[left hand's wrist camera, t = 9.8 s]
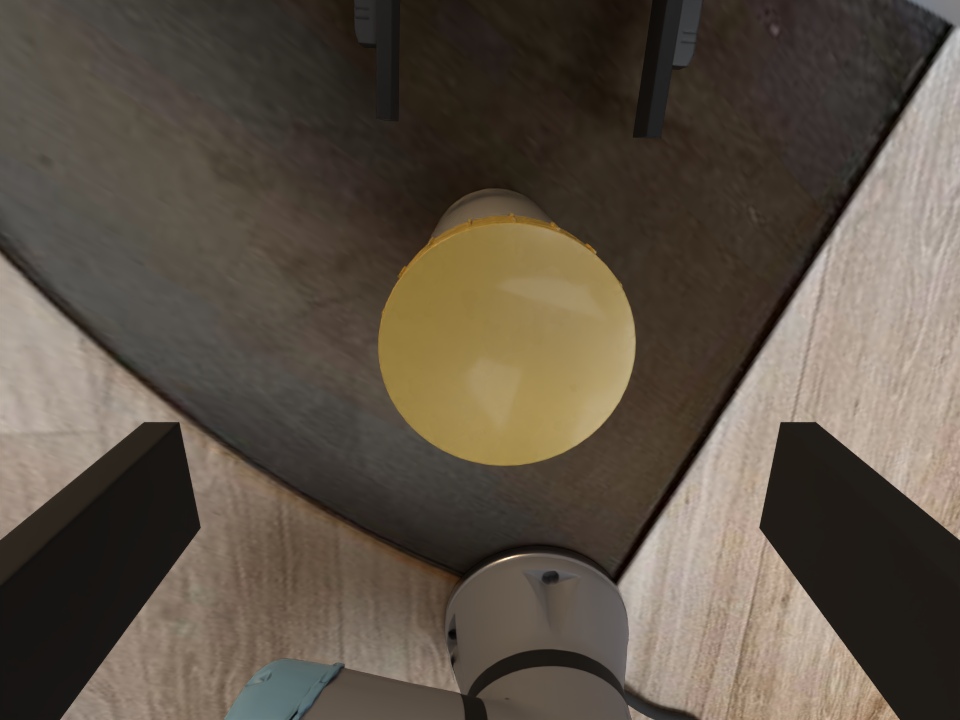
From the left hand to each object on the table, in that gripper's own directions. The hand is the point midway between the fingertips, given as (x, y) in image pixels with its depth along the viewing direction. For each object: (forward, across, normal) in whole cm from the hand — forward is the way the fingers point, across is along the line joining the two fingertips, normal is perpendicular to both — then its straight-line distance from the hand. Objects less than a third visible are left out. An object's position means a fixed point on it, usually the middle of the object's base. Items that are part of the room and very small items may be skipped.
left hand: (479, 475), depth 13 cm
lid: (+8, +1, 0) cm, 8 cm away
